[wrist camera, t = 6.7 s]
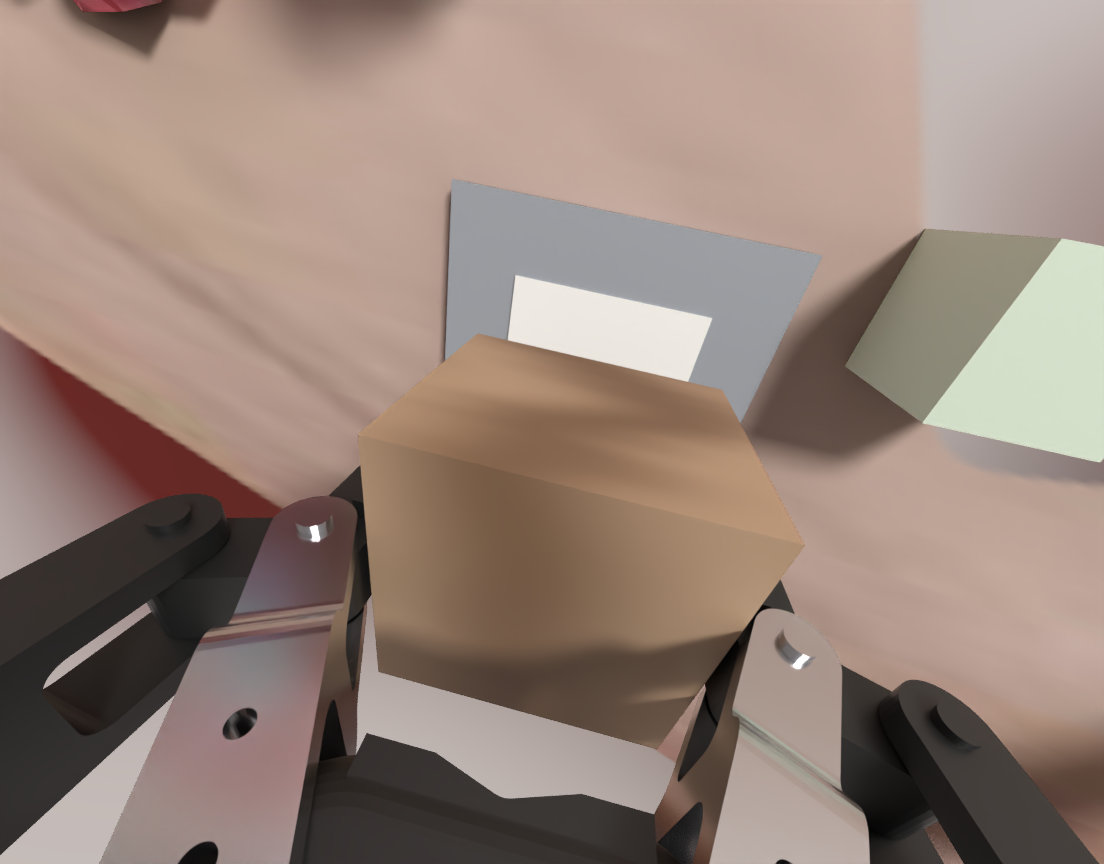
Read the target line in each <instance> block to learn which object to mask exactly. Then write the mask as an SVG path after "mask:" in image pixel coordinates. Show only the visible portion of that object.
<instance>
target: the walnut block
mask: <svg viewBox="0 0 1104 864" xmlns="http://www.w3.org/2000/svg"><path fill="white" fill-rule="evenodd" d="M358 443H359V455H360V466H361V477H362V489H363V500H364V512H365V523H366V535H367V546H368V557H369V569H370V580H371V592H372V603H373V614H374V626H375V637H376V647H377V648H376V649H377V659H378V670H379V672H381V673H385V674H389V675H392V676H396V677H399V678H403V679H406V680H411V681H413V682H417V683H421V684H424V685H428V686H432V687H435V688H439V689H442V690H446V691H450V692H453V693H457V694H460V695H464V696H468V697H471V698H475V699H478V700H482V701H485V702H489V703H493V704H496V705H500V706H503V707H507V708H511V709H514V710H518V711H521V712H525V713H528V714H532V715H536V716H539V717H543V718H546V719H550V720H554V721H558V722H561V723H565V724H568V725H572V726H575V727H579V728H582V729H586V730H590V731H593V732H597V733H600V734H604V735H608V736H611V737H615V738H618V739H622V740H626V741H629V742H633V743H636V744H640V745H644V746H647V747H651V748H654V749H658V747H659V746H660V745H661V743H662V742H663V740H664V739H665V738H666V736H667V735H668V734H669V732H670V731H671V729H672V728H673V727H674V725H675V724H676V723H677V721H678V720H679V718H680V717H681V716H682V714H683V713H684V712H685V710H686V709H687V707H688V706H689V705H690V703H691V702H692V700H693V699H694V698H695V696H696V695H697V694H698V692H699V691H700V689H701V688H702V687H703V685H704V684H705V683H706V681H707V680H708V678H709V677H710V676H711V674H712V673H713V672H714V670H715V669H716V667H717V666H718V665H719V663H720V662H721V661H722V659H723V658H724V656H725V655H726V654H727V652H728V651H729V649H730V648H731V647H732V645H733V644H734V643H735V641H736V640H737V638H738V637H739V636H740V634H741V633H742V632H743V630H744V629H745V627H746V626H747V625H748V623H749V622H750V621H751V619H752V618H753V616H754V615H755V614H756V612H757V611H758V610H759V608H760V607H761V605H762V604H763V603H764V601H765V600H766V599H767V597H768V596H769V594H770V593H771V592H772V590H773V589H774V587H775V586H776V585H777V583H778V582H779V581H780V579H781V578H782V576H783V575H784V574H785V572H786V571H787V570H788V568H789V567H790V565H791V564H792V563H793V561H794V560H795V559H796V557H797V556H798V554H799V553H800V552H801V550H802V549H803V548H804V546H805V544H804V542H803V540H802V539H801V537H800V535H799V533H798V531H797V529H796V527H795V525H794V524H793V522H792V520H791V518H790V516H789V514H788V512H787V510H786V508H785V507H784V505H783V503H782V501H781V499H780V497H779V495H778V493H777V492H776V490H775V488H774V486H773V484H772V482H771V480H770V478H769V476H768V475H767V473H766V471H765V469H764V467H763V465H762V463H761V461H760V460H759V458H758V456H757V454H756V452H755V450H754V448H753V446H752V444H751V443H750V441H749V439H748V437H747V435H746V433H745V431H744V429H743V428H742V426H741V424H740V422H739V420H738V418H737V416H736V414H735V412H734V411H733V409H732V407H731V405H730V403H729V401H728V399H727V397H726V396H725V394H724V392H723V390H721V389H717V388H712V387H708V386H704V385H699V384H695V383H691V382H686V381H682V380H678V379H673V378H669V377H665V376H660V375H656V374H652V373H648V372H643V371H639V370H635V369H630V368H626V367H622V366H617V365H613V364H609V363H604V362H600V361H596V360H591V359H587V358H583V357H578V356H574V355H570V354H565V353H561V352H557V351H552V350H548V349H544V348H539V347H535V346H531V345H526V344H522V343H518V342H513V341H509V340H505V339H500V338H496V337H492V336H487V335H483V334H479V333H477V334H476V335H475V336H474V337H473V338H471V339H470V340H469V341H468V342H467V343H466V344H464V345H463V346H462V347H461V348H460V349H458V350H457V351H456V352H455V353H454V354H452V355H451V356H450V357H449V358H448V359H447V360H445V361H444V362H443V363H442V364H441V365H439V366H438V367H437V368H436V369H435V370H434V371H432V372H431V373H430V374H429V375H428V376H426V377H425V378H424V379H423V380H422V381H420V382H419V383H418V384H417V385H416V386H415V387H413V388H412V389H411V390H410V391H409V392H407V393H406V394H405V395H404V396H403V397H401V398H400V399H399V400H398V401H397V402H396V403H394V404H393V405H392V406H391V407H390V408H388V409H387V410H386V411H385V412H384V413H383V414H381V415H380V416H379V417H378V418H377V419H375V420H374V421H373V422H372V423H371V424H369V425H368V426H367V427H366V428H365V429H364V430H362V431H361V432H360V433H359V434H358Z"/></svg>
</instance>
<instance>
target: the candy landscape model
mask: <svg viewBox="0 0 1104 864" xmlns="http://www.w3.org/2000/svg"><path fill="white" fill-rule="evenodd" d="M73 1H74V2H75V3H76V4H77V5H78V6H79V8H80V9H81V10H82V11H83V12H124V11H128V10H132V9H136V8H140V7H144V6H148V5H152V4H156V3H160V2H162V1H161V0H73Z"/></svg>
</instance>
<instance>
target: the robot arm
mask: <svg viewBox="0 0 1104 864" xmlns="http://www.w3.org/2000/svg"><path fill="white" fill-rule="evenodd" d="M371 595H372V592H371V580H370V569H369V557H368V546H367V535H366V523H365V512H364V500H363V489H362V477H361V466H359V467H358V468H357V469H356V470H355V471H354V472H353V473H352V474H351V475H350V476H349V477H348V478H347V479H346V480H345V481H344V482H342V483H341V484H340V485H339V486H338V487H337V488H336V489H335V490H334V491H333V492H332V493H331V494H330V495H329V496H320V497H312V498H307V499H304V500H301V501H298V502H295V503H293V504H291V505H289V506H287V507H286V508H284V509H283V510H281V511H280V512H279V513H278V514H277V515H276V516H275V517H274V518H226V516H225V513H224V510H223V507H222V505H221V503H220V502H219V501H218V500H217V499H215V498H213V497H211V496H207V495H202V494H181V495H174V496H170V497H165V498H162V499H159V500H156V501H153V502H150V503H147V504H145V505H143V506H141V507H139V508H137V509H135V510H133V511H131V512H129V513H127V514H125V515H123V516H121V517H120V518H118V519H116V520H114V521H112V522H110V523H108V524H106V525H104V526H102V527H101V528H98V529H96V530H95V531H93V532H91V533H89V534H87V535H85V536H83V537H81V538H79V539H77V540H75V541H73V542H71V543H70V544H68V545H66V546H64V547H62V548H60V549H58V550H56V551H55V552H52V553H50V554H48V555H47V556H44V557H43V558H41V559H39V560H37V561H35V562H33V563H31V564H29V565H27V566H25V567H23V568H21V569H19V570H18V571H16V572H14V573H12V574H10V575H8V576H6V577H4V578H2V579H0V855H1V854H2V853H3V852H4V851H5V850H6V849H7V848H8V847H9V846H10V845H12V844H13V843H14V842H15V841H16V840H17V839H18V838H19V837H20V836H21V835H22V834H24V833H25V832H26V831H27V830H28V829H29V828H30V827H31V826H32V825H33V824H35V823H36V822H37V821H38V820H39V819H40V818H41V817H42V816H43V815H44V814H45V813H46V812H47V811H49V810H50V809H51V808H52V807H53V806H54V805H55V804H56V803H57V802H58V801H60V800H61V799H62V798H63V797H64V796H65V795H66V794H67V793H68V792H69V791H70V790H72V789H73V788H74V787H75V786H76V785H77V784H78V783H79V782H80V781H81V780H82V779H83V778H85V777H86V776H87V775H88V774H89V773H90V772H91V771H92V770H93V769H94V768H95V767H97V765H99V764H100V763H101V762H102V761H103V760H104V759H105V758H106V757H107V756H108V755H110V754H111V753H112V752H113V751H114V750H115V749H116V748H117V747H118V746H119V745H120V744H121V743H123V742H124V741H125V740H126V739H127V738H128V737H129V736H130V735H131V734H132V733H134V731H136V730H137V729H138V728H139V727H140V726H141V725H142V724H143V723H144V722H145V721H147V720H148V719H149V718H150V717H151V716H152V715H153V714H154V713H155V712H156V711H157V710H159V709H160V708H161V707H162V706H163V705H164V704H165V703H166V702H167V701H168V700H169V699H170V698H172V697H173V696H174V695H175V696H174V699H173V701H172V703H171V705H170V708H169V710H168V712H167V714H166V716H165V719H164V721H163V723H162V725H161V727H160V730H159V732H158V734H157V737H156V739H155V741H154V743H153V745H152V748H151V750H150V752H149V754H148V757H147V759H146V761H145V763H144V765H143V767H142V770H141V772H140V774H139V776H138V779H137V781H136V783H135V785H134V788H133V790H132V792H131V794H130V796H129V799H128V801H127V803H126V805H125V807H124V810H123V812H122V814H121V816H120V819H119V821H118V823H117V825H116V827H115V830H114V832H113V834H112V836H111V839H110V841H109V843H108V845H107V847H106V850H105V852H104V854H103V856H102V859H101V861H100V863H99V864H944V863H943V862H942V860H941V858H940V856H939V855H938V853H937V851H936V849H935V848H934V846H933V844H932V842H931V841H930V839H929V837H928V835H927V833H926V832H925V830H924V829H925V828H926V827H928V826H930V825H932V824H934V823H936V822H938V821H939V823H940V825H941V826H942V828H943V829H944V831H945V833H946V834H947V836H948V838H949V839H950V841H951V843H952V844H953V846H954V848H955V849H956V851H957V853H958V854H959V856H960V858H961V859H962V861H963V863H964V864H1099V863H1098V862H1097V860H1096V859H1095V858H1094V857H1093V856H1092V854H1091V853H1090V852H1089V851H1088V849H1087V848H1086V847H1085V846H1084V844H1083V843H1082V842H1081V841H1080V839H1079V838H1078V837H1077V836H1076V834H1075V833H1074V832H1073V831H1072V829H1071V828H1070V827H1069V826H1068V824H1067V823H1066V822H1065V821H1064V819H1063V818H1062V817H1061V816H1060V814H1059V813H1058V812H1057V811H1056V809H1055V808H1054V807H1053V806H1052V804H1051V803H1050V802H1049V801H1048V799H1047V798H1046V797H1045V796H1044V794H1043V793H1042V792H1041V791H1040V790H1039V788H1038V787H1037V786H1036V785H1035V783H1034V782H1033V781H1032V780H1031V778H1030V777H1029V776H1028V775H1027V773H1026V772H1025V771H1024V770H1023V768H1022V767H1021V766H1020V765H1019V763H1018V762H1017V761H1016V760H1015V758H1014V757H1013V756H1012V755H1011V753H1010V752H1009V751H1008V750H1007V748H1006V747H1005V746H1004V745H1003V743H1002V742H1001V741H1000V740H999V738H998V737H997V736H996V735H995V733H994V732H993V731H992V730H991V729H990V728H989V727H988V725H987V724H986V723H985V722H984V721H983V720H982V719H981V718H980V717H979V716H978V715H977V714H976V713H975V712H973V711H972V710H971V709H970V708H969V707H968V706H966V705H965V704H964V703H963V702H961V701H960V700H959V699H957V698H956V697H954V696H953V695H951V694H950V693H948V692H946V691H945V690H943V689H941V688H939V687H937V686H935V685H933V684H930V683H927V682H924V681H919V680H908V681H905V682H904V683H902V684H901V685H900V686H899V687H897V688H896V689H895V690H894V691H892V692H891V691H889V690H887V689H886V688H884V687H882V686H880V685H878V684H876V683H874V682H872V681H870V680H869V679H867V678H865V677H863V676H861V675H859V674H857V673H855V672H853V671H851V670H850V669H848V668H846V667H844V666H843V665H841V664H840V660H839V658H838V656H837V654H836V652H835V650H834V649H833V647H832V646H831V644H830V643H829V642H828V640H827V639H826V638H825V637H824V636H823V635H822V634H821V633H820V632H819V631H818V630H817V629H816V628H815V627H813V626H812V625H811V624H810V623H808V622H807V621H805V620H804V619H802V618H801V617H799V616H797V615H795V613H794V611H793V608H792V606H791V604H790V601H789V599H788V596H787V594H786V592H785V589H784V587H783V584H782V582H781V580H780V581H779V582H778V583H777V585H776V586H775V587H774V589H773V590H772V592H771V593H770V594H769V596H768V597H767V599H766V600H765V601H764V603H763V604H762V605H761V607H760V608H759V610H758V611H757V612H756V614H755V615H754V616H753V618H752V619H751V621H750V622H749V623H748V625H747V626H746V627H745V629H744V630H743V632H742V633H741V634H740V636H739V637H738V638H737V640H736V641H735V643H734V644H733V645H732V647H731V648H730V649H729V651H728V652H727V654H726V655H725V656H724V658H723V659H722V661H721V662H720V663H719V665H718V666H717V667H716V669H715V670H714V672H713V673H712V674H711V676H710V677H709V678H708V680H707V681H706V683H705V688H704V689H703V691H702V692H701V694H700V695H699V697H698V700H697V703H696V706H695V709H694V712H693V715H692V718H691V721H690V724H689V726H688V729H687V732H686V735H685V738H684V741H683V744H682V747H681V750H680V753H679V756H678V759H677V762H676V765H675V768H674V771H673V774H672V777H671V780H670V782H669V785H668V787H667V790H666V792H665V794H664V796H663V799H662V800H661V802H660V804H659V806H658V808H657V810H656V812H655V814H650V813H647V812H643V811H640V810H636V809H633V808H629V807H626V806H622V805H619V804H615V803H611V802H608V801H604V800H600V799H597V798H594V797H590V796H587V795H583V794H576V795H561V796H545V797H530V798H515V799H507V798H502V797H499V796H498V795H496V794H494V793H493V792H491V791H490V790H488V789H487V788H486V787H484V786H482V785H481V784H480V783H478V782H477V781H475V780H474V779H472V778H471V777H470V776H468V775H467V774H465V773H464V772H463V771H461V770H460V769H458V768H457V767H455V766H454V765H453V764H451V763H450V762H448V761H447V760H445V759H444V758H442V757H441V756H440V755H438V754H437V753H435V752H431V751H428V750H424V749H421V748H417V747H413V746H410V745H407V744H403V743H399V742H396V741H392V740H389V739H385V738H382V737H378V736H375V735H371V734H368V733H367V734H366V736H365V738H364V740H363V742H362V744H361V746H360V748H359V750H358V752H357V754H356V746H357V703H358V691H359V681H360V671H361V662H362V653H363V643H364V634H365V624H366V614H367V600H368V599H369V598H370V596H371ZM145 603H147V604H148V606H149V608H150V610H151V611H152V612H151V613H149V614H148V615H146V616H145V617H144V618H142V619H141V620H140V621H138V622H137V623H135V624H134V625H133V626H131V627H130V628H129V629H127V630H126V631H124V632H123V633H122V634H120V635H119V636H118V637H116V638H115V639H113V640H112V641H111V642H109V643H108V644H107V645H105V646H104V647H103V648H101V649H100V650H98V651H97V652H95V653H94V654H93V655H91V656H90V657H89V658H87V659H86V660H85V661H83V662H82V663H80V664H79V665H78V666H76V667H75V668H74V669H72V670H71V671H69V672H68V673H67V674H65V675H64V676H62V677H61V678H60V679H58V680H57V681H56V682H54V683H53V684H51V685H50V686H48V687H46V688H44V689H43V687H44V684H45V682H46V680H47V678H48V677H49V675H50V674H51V673H52V672H53V671H54V669H55V668H56V667H57V666H58V665H59V664H61V663H62V662H63V661H64V660H65V659H67V658H68V657H69V656H70V655H72V654H74V653H75V652H76V651H78V650H79V649H80V648H82V647H83V646H85V645H86V644H88V643H89V642H90V641H92V640H93V639H95V638H96V637H98V636H99V635H100V634H102V633H103V632H105V631H106V630H108V629H109V628H111V627H112V626H113V625H115V624H116V623H117V622H119V621H121V620H122V619H123V618H125V617H126V616H128V615H129V614H131V613H132V612H133V611H135V610H136V609H138V608H139V607H140V606H142V605H143V604H145Z"/></svg>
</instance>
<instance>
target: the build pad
mask: <svg viewBox="0 0 1104 864" xmlns="http://www.w3.org/2000/svg"><path fill="white" fill-rule="evenodd" d="M821 258H822V256H821V255H817V254H813V253H808V252H803V251H798V250H794V249H789V248H784V247H779V246H774V245H769V244H765V243H760V242H755V241H750V240H745V239H740V238H736V237H731V236H726V235H721V234H716V233H711V232H707V231H702V230H697V229H692V228H687V227H682V226H678V225H673V224H668V223H663V222H658V221H653V220H649V219H644V218H639V217H634V216H629V215H624V214H620V213H615V212H610V211H605V210H600V209H595V208H591V207H586V206H581V205H576V204H571V203H566V202H562V201H557V200H552V199H547V198H542V197H537V196H533V195H528V194H523V193H518V192H513V191H508V190H504V189H499V188H494V187H489V186H484V185H480V184H475V183H470V182H465V181H460V180H455V179H452V188H451V215H450V241H449V267H448V294H447V320H446V347H445V360H447V359H448V358H449V357H450V356H451V355H452V354H454V353H455V352H456V351H457V350H458V349H460V348H461V347H462V346H463V345H464V344H466V343H467V342H468V341H469V340H470V339H471V338H473V337H474V336H475V335H476V334H477V333H479V334H483V335H487V336H492V337H496V338H500V339H505V340H509V341H513V342H518V343H522V344H526V345H531V346H535V347H539V348H544V349H548V350H552V351H557V352H561V353H565V354H570V355H574V356H578V357H583V358H587V359H591V360H596V361H600V362H604V363H609V364H613V365H617V366H622V367H626V368H630V369H635V370H639V371H643V372H648V373H652V374H656V375H660V376H665V377H669V378H673V379H678V380H682V381H686V382H691V383H695V384H699V385H704V386H708V387H712V388H717V389H721V390H723V392H724V394H725V396H726V397H727V399H728V401H729V403H730V405H731V407H732V409H733V411H734V412H735V414H736V416H737V418H738V420H739V422H740V424H741V422H742V420H743V417H744V415H745V413H746V411H747V409H748V407H749V405H750V403H751V401H752V399H753V397H754V395H755V393H756V391H757V389H758V387H759V385H760V383H761V381H762V379H763V377H764V374H765V372H766V370H767V368H768V366H769V364H770V362H771V360H772V358H773V356H774V354H775V352H776V350H777V348H778V346H779V344H780V342H781V340H782V338H783V336H784V334H785V331H786V329H787V327H788V325H789V323H790V321H791V319H792V317H793V315H794V313H795V311H796V309H797V307H798V305H799V303H800V301H801V299H802V297H803V295H804V293H805V291H806V288H807V286H808V284H809V282H810V280H811V278H812V276H813V274H814V272H815V270H816V268H817V266H818V264H819V262H820V260H821Z"/></svg>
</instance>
